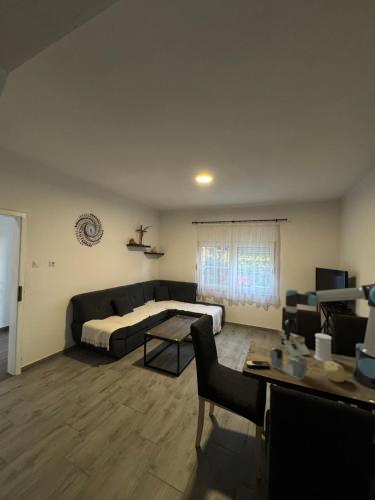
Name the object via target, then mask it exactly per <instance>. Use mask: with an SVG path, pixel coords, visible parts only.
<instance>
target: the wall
mask: <svg viewBox="0 0 375 500" xmlns="http://www.w3.org/2000/svg"><path fill="white" fill-rule="evenodd" d="M282 342H283V344H284V345H285V347H286V349H287V351H288V353H289V355H290V357H302V356H304V355H310V354H312V353H311V352H310V351H309V349H308V347H307V346H306V343H305V344H303V345H299V344H296V343H295V344H293V343H291V345H290V346H289V345H287V344H286V340H285V339H284V340H282Z"/></svg>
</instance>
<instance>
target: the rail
mask: <svg viewBox="0 0 375 500" xmlns="http://www.w3.org/2000/svg"><path fill="white" fill-rule="evenodd" d="M277 333H278V334H277V337H278V338H281V339H284V340H286V335H284V329H279V330H278V331H277ZM290 336H291V342H293V343H296V344H299V345H303V344H305V345H306V343H305V342H306V341H305V339H306V337H304V336H302V335H299V334H297V333H296V334H293V333H291V332H290Z"/></svg>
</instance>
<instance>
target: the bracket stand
mask: <svg viewBox="0 0 375 500" xmlns="http://www.w3.org/2000/svg"><path fill="white" fill-rule="evenodd" d="M269 358H270V363H269V366H271V367H273V368H274V369H277V370H279V371H281V372H283V373H284V374H287V375H289V376H290V377H292V378H295V379H297V380H298V381H302V380H303V379H305V378H307V377H308V373H306V369H308V360H307V359H306V358H303V357H302V356H298V361H299V362H298V361H295V360H293V364H292V366H291V365H289V364H286V363H284V350H282V349H281V348H278V347H276V348H273V349H271V350H269Z"/></svg>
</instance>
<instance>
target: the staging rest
mask: <svg viewBox="0 0 375 500" xmlns="http://www.w3.org/2000/svg"><path fill="white" fill-rule="evenodd" d="M293 360H295V361H298V362H299V359H296V358H293V357H290V358H289V359H288V363H289V364H290V365H293Z"/></svg>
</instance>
